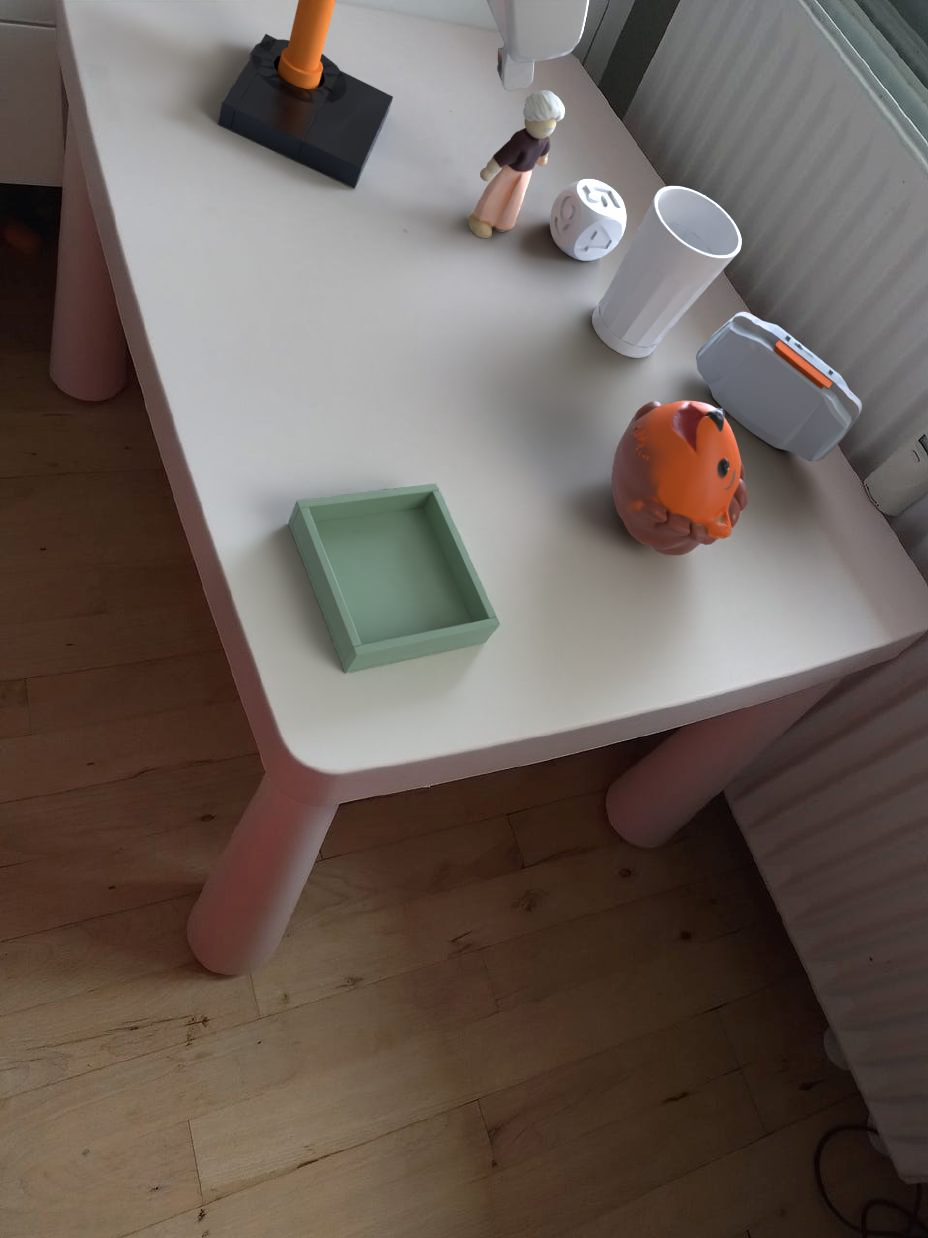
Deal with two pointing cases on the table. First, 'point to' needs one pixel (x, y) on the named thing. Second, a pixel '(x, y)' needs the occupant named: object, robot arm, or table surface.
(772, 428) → the gray clasp case
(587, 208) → the die
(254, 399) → the table surface
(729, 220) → the cup
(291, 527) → the basin
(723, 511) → the orange fox figurine
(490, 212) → the grandmother figurine
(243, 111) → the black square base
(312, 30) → the plug
